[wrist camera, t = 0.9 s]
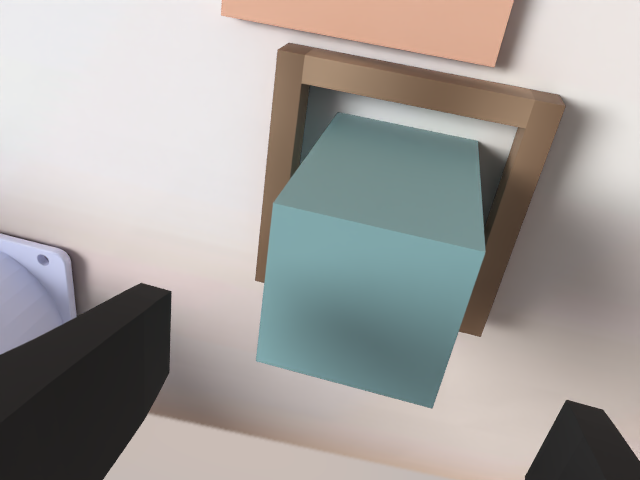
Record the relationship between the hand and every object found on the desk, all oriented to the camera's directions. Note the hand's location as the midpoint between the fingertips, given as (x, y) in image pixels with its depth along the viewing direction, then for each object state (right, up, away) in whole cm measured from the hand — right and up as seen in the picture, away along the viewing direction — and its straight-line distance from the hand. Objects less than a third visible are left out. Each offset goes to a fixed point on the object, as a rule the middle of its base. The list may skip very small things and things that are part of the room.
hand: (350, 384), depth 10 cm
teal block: (+2, +4, +8) cm, 10 cm away
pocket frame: (+2, +4, +8) cm, 9 cm away
